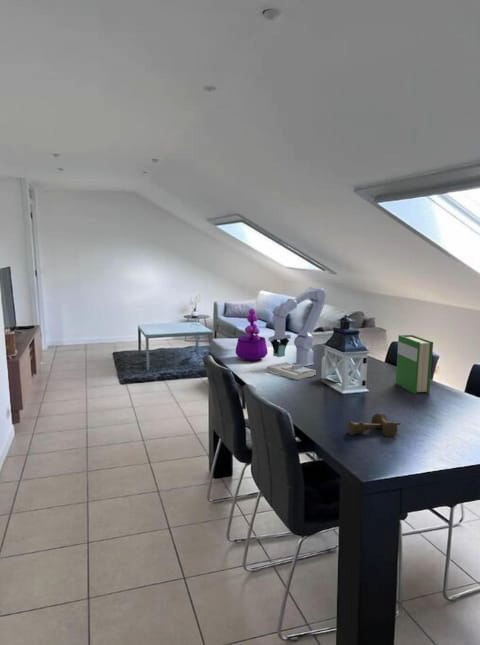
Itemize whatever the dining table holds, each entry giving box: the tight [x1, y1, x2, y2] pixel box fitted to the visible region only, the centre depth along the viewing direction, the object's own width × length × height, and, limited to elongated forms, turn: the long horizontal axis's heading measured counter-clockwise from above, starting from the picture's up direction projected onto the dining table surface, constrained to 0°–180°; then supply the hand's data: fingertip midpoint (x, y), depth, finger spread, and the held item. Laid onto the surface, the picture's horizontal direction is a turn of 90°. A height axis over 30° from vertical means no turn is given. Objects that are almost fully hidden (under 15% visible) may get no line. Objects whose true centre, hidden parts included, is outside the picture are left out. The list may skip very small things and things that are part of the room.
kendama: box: [346, 412, 402, 438], centre depth 172 cm, size 6×10×20 cm
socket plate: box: [266, 362, 317, 380], centre depth 251 cm, size 14×24×3 cm, turn 38°
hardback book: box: [395, 334, 434, 395], centre depth 226 cm, size 18×7×24 cm, turn 10°
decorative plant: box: [235, 308, 268, 361], centre depth 280 cm, size 19×18×30 cm
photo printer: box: [320, 355, 326, 380], centre depth 238 cm, size 10×4×12 cm, turn 39°
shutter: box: [292, 364, 311, 373], centre depth 246 cm, size 7×7×2 cm
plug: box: [272, 343, 286, 358], centre depth 261 cm, size 4×4×7 cm
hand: (279, 352), depth 262 cm, fingers closed on plug, 4 cm apart
